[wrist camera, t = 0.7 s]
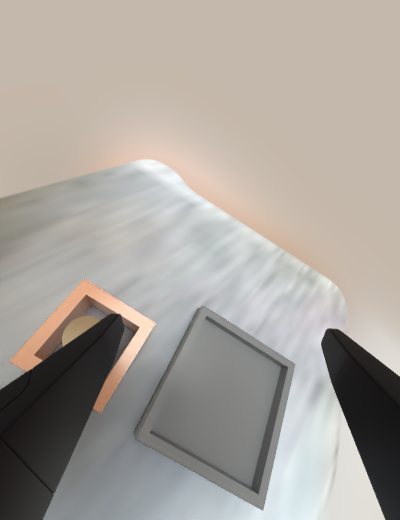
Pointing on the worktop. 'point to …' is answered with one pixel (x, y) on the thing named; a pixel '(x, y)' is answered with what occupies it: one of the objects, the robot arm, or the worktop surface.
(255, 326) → the worktop surface
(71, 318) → the terracotta square hollow block
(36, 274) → the worktop surface
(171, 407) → the charcoal tray
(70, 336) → the dowel pin
